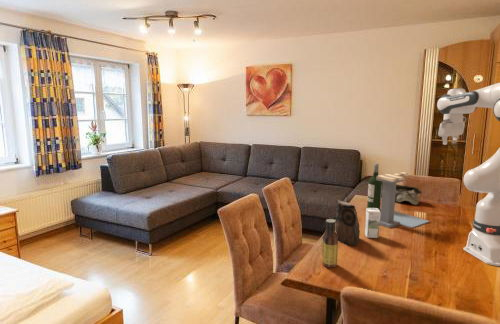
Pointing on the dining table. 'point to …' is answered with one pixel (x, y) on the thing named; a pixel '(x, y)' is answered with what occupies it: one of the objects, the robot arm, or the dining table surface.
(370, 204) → the wine bottle
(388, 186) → the pedestal
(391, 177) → the board
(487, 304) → the dining table surface
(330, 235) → the sauce bottle
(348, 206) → the black speaker
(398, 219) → the mat
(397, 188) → the hollow geode rock
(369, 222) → the syrup box
